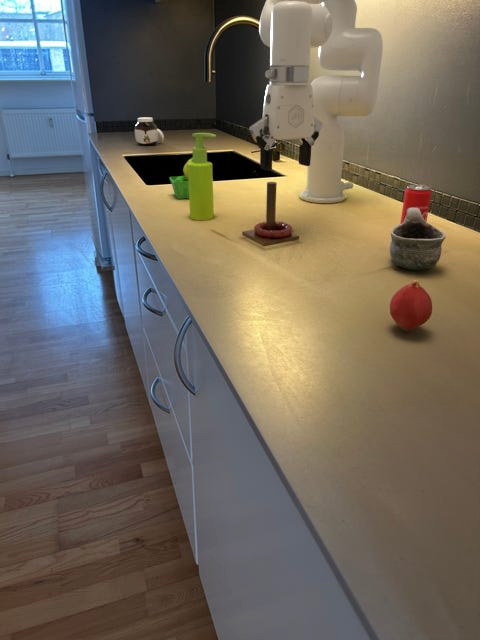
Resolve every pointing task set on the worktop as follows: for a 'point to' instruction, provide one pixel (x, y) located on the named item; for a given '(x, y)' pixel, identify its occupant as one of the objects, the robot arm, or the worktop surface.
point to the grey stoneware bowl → (415, 242)
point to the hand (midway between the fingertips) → (285, 167)
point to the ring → (284, 231)
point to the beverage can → (417, 200)
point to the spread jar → (147, 132)
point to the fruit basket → (181, 183)
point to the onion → (411, 306)
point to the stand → (270, 221)
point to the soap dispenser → (200, 181)
